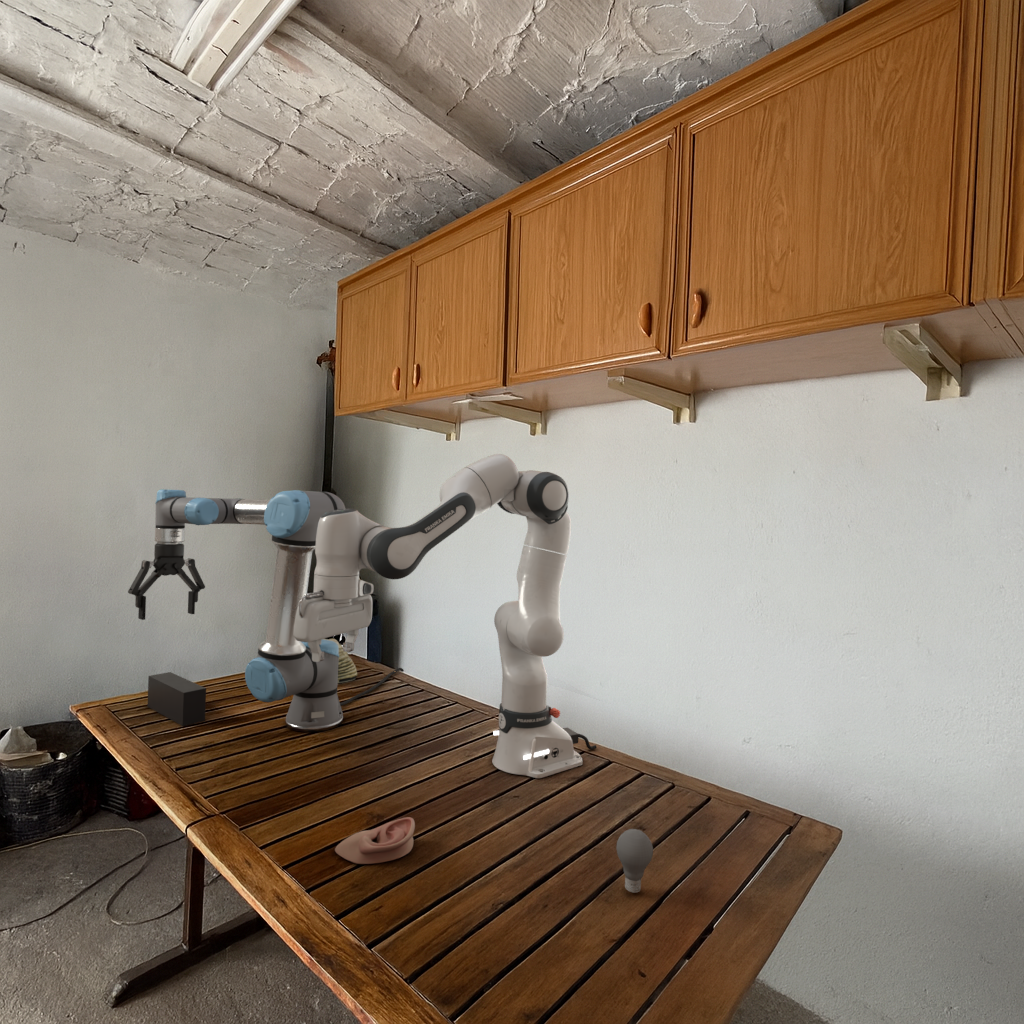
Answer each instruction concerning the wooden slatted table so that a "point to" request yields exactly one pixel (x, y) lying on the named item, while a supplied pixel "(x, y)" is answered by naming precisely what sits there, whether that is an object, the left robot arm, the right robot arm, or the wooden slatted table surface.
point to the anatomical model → (379, 843)
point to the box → (177, 698)
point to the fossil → (345, 665)
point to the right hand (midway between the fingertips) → (333, 656)
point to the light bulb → (634, 857)
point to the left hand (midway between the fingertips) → (167, 616)
